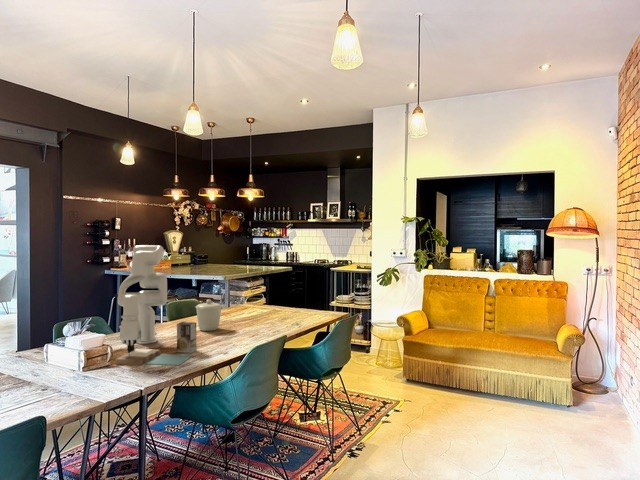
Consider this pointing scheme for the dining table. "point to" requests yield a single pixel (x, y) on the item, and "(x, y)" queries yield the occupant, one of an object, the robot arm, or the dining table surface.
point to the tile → (141, 352)
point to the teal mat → (169, 359)
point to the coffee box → (186, 337)
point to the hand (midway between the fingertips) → (130, 352)
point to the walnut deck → (136, 358)
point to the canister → (208, 315)
